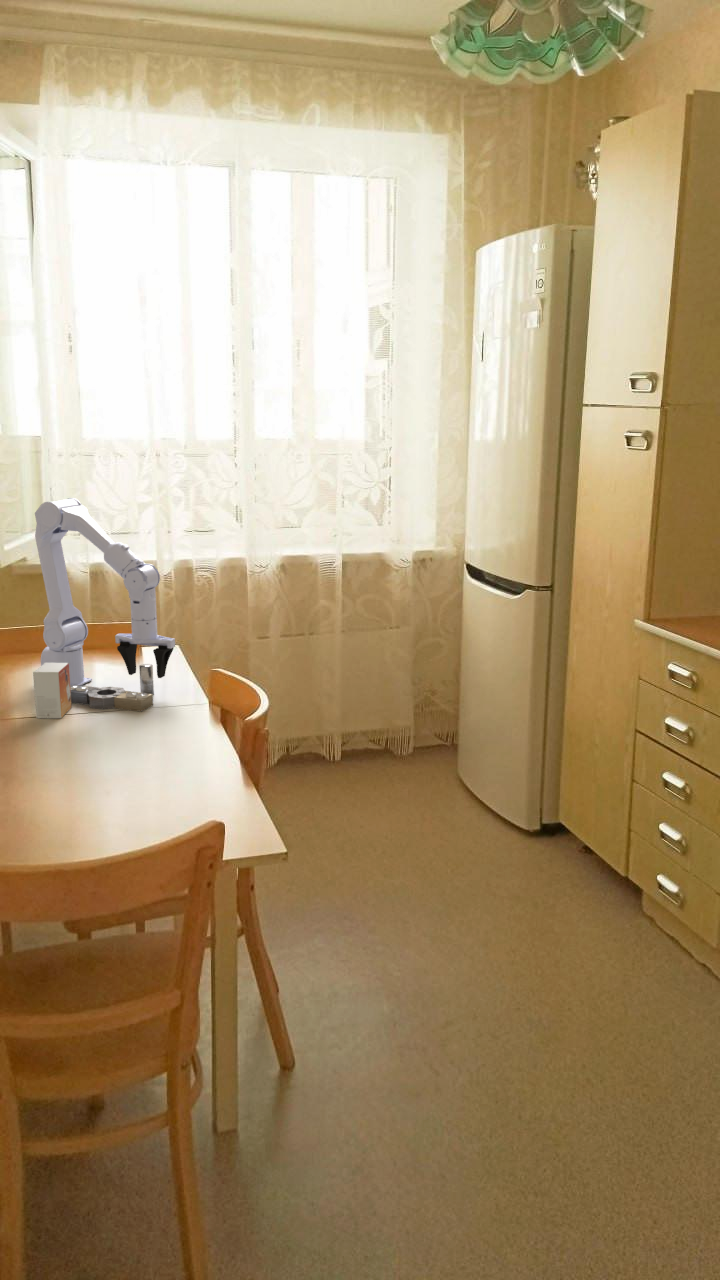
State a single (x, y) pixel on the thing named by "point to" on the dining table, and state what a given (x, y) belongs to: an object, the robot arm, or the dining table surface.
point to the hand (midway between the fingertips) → (146, 675)
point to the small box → (52, 690)
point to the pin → (146, 678)
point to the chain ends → (110, 698)
